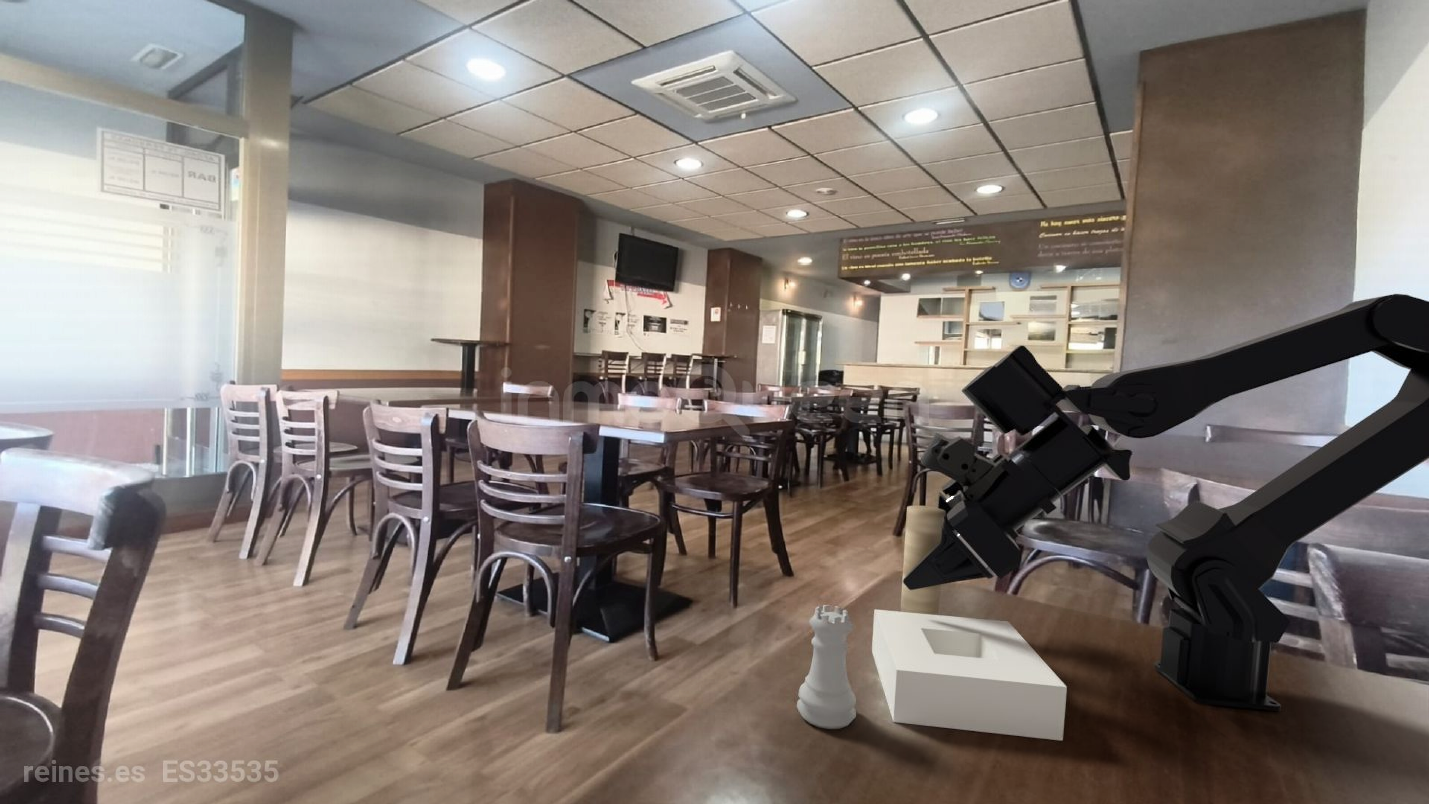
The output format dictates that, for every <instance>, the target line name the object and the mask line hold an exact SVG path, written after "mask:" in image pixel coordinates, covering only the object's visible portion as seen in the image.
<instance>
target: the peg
mask: <svg viewBox="0 0 1429 804" xmlns="http://www.w3.org/2000/svg"><path fill="white" fill-rule="evenodd" d="M943 516H944V517H945V511H944V510H942V509H939V508H938V507H935V506H928V505H908V506H907V507H906V519H905V520H906V521H905V531H904V532H905V535H904V550H903V566H902V567H903V569H902V580H901V581H902V582H901V583H902V584H901V595H900V610H899V612H909V613H920V614H931V615H940V603H941V601H940V598H941V586H942V584H941V585H936V586H931V587H925V588H920V589H915V590H909V589H908V588H907V586H906V585H905V584H904V583H903V579H904V578H905V577H906V576H907V575H908V573H909V572H910V571H911V570H912V569H913V568H914V567H915V566H916V565H917V564H918V562H919V561H920V560H921V559H922V558H923V557H924V556H925V555H926V554H927V553H928V552H929V551H930V550H931V549H932V548H933V546H934V545H935V544H936V543H937V542H938V541H939V540H940V537H941V525H942V517H943Z"/></svg>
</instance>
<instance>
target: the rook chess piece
mask: <svg viewBox="0 0 1429 804" xmlns="http://www.w3.org/2000/svg"><path fill="white" fill-rule="evenodd" d="M830 609H831V608H830V604H827V605H826V604H823V605H822V607H821V606H819V605H818V606H816V607H815V609H814V614H813V616H812V617H811V618H810V619H809V625H810V627H811V628H812V629H813V631H814V636H813V638H811V644H812V646H813V653H812V660H811V665H810V669H809V671H808V675H806V676H805V678H804V682H803V683H802V684H801V685H800V687H799V690H798V694H797V696H798V697H799V699H798V700H797V702H796V703H797V704H796V708H797V710H798V712H799V713H800V715H801V717H802V718H803V720H805V722H808V723H809V724H810V725H813V726H815V727H817V728H821V729H825V730H840V729H843V728H845V727H848V726H849V725H850V723H852V721H853V720H854V719H855V718H856V717H857V712H856V709H855V706H856V705H857V703H856V701H857V700H856V696H855V694H856V693H854V691H853V690H852V688H851V683H850V682H849V680H848V679H849V678H848V675H847V664H846V663H847V662H846V655H847V654H846V651H847V650H848V649H849V648H850V646H849V645H850V644H849V643H848V642H847V636H848V635H849V634H850V632H852V631H853V629H854V625H853V623H852V621H851V620H850V615H849V614H850V613H849V610H847V609H843V610H842V607H840V606H838V605H837V606H836V605H835V606H834V610H833V611H832V610H830Z"/></svg>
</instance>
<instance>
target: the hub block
mask: <svg viewBox="0 0 1429 804" xmlns="http://www.w3.org/2000/svg"><path fill="white" fill-rule="evenodd" d="M872 627H873V628H872V640H871V641H872V642H871V643H872V644H871V652H872V657H873V660H874V663H875V666H876V670H877V672H878V673H877V674H878V676H879V679H880V682H881V683H880V684H881V685H882V689H883V692H884V694H885V699H886V702H887V705H888V708H889V712H890V715H891V718H892V722H893V723H901V724H908V725H909V724H910V725H917V726H927V727H936V728H946V729H955V730H961V731H962V730H963V731H974V732H981V733H991V734H998V735H1009V736H1016V737H1017V736H1019V737H1026V738H1036V739H1044V740H1046V739H1047V740H1054V741H1064V740H1063V739H1064V728H1065V717H1066V716H1065V715H1066V703H1067V689H1068V688H1067V685H1066V684H1065V683H1064V682H1063V681H1062V680H1061V679H1060V678H1059V676H1058V675H1057V674H1056V673H1055V672H1054V670H1052V669H1051V667H1049V665H1048V664H1047V663H1046V662H1045V661H1044V660H1043V659H1042V658H1041V656H1040V655H1039V654H1038V653H1037V652H1036V651H1035V649H1033V647H1032V646H1031V645H1030V644H1029V643H1028V642H1027V640H1026V639H1024V638H1023V637H1022V635H1021V634H1020V633H1019V632H1018V631H1017V629H1015V627H1014V626H1013V625H1012V624H1011V623H1010V621H1006V620H994V619H985V618H984V619H982V618H974V617H973V618H972V617H962V616H961V617H959V616H952V615H951V616H950V615H940V614H939V615H931V614H920V613H909V612H900V611H897V610H885V609H874V612H873V626H872Z"/></svg>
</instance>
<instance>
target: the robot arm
mask: <svg viewBox="0 0 1429 804" xmlns="http://www.w3.org/2000/svg"><path fill="white" fill-rule="evenodd" d="M1371 352H1372V353H1374V354H1376V355H1377V356H1380V357H1381V358H1384V359H1385V360H1387V361H1389V362H1391V363H1393V364H1394V365H1396V366H1399V367H1401V368H1404V369H1407V370H1409V371H1408V373H1407V375H1406V377H1405V378H1404V381H1403V383H1402V385H1401V386H1400V389H1399V390H1398V392H1397V394H1396V396H1395V397H1393V398H1392V399H1391V400H1390V401H1389V402H1388V403H1385V404H1384V405H1383V406H1382V407H1379V408H1378V409H1376V410H1375V411H1373V412H1372V413H1371V414H1369V415H1368V416H1366V417H1364V418H1363V419H1361V420H1360V421H1359V422H1357V423H1355V424H1354V425H1353V426H1351V427H1350V428H1348V429H1347V430H1345V431H1344V432H1342V433H1341V434H1339V435H1338V436H1336V437H1335V438H1334V439H1331V440H1330V441H1329V442H1327V443H1325V444H1324V445H1323V446H1321V447H1320V448H1318V449H1317V450H1315V451H1314V452H1313V453H1310V454H1309V455H1308V456H1306V457H1305V458H1303V459H1302V460H1300V461H1298V462H1297V463H1295V464H1294V465H1293V466H1291V467H1290V468H1288V469H1287V470H1285V471H1284V472H1282V473H1281V474H1279V475H1278V476H1276V477H1275V478H1273V479H1272V480H1270V481H1269V482H1268V483H1266V484H1264V485H1263V486H1262V487H1259V488H1258V489H1257V490H1255V491H1253V492H1252V493H1251V494H1249V495H1247V496H1246V497H1245V498H1244V499H1243V498H1242V499H1241V500H1239V501H1238V502H1237V503H1234V504H1231V505H1229V506H1228V505H1227V506H1225V507H1221V508H1216V507H1213V506H1211V505H1209V504H1207V503H1204V502H1202V501H1199V500H1197V499H1196V500H1193V501H1192V502H1191V503H1189V504H1188V505H1186V506H1185V507H1184V508H1182V510H1181V511H1180V512H1179V513H1178V514H1176V515H1175V516H1174V517H1172V518H1171V519H1168V520H1166V521H1164V522H1161V523H1160V522H1159V523H1157V524H1155V528H1157V529H1158V530H1160V531H1158V532H1157V533H1156V534H1154V535H1153V537H1151V539H1150V540H1149V541H1148V543H1147V545H1146V547H1147V548H1146V549H1147V551H1146V561H1147V565H1148V568H1149V570H1150V571H1151V573H1152V575H1154V577H1155V578H1157V579H1158V580H1159V581H1160V582H1162V583H1163V584H1164V585H1165V587H1166V590H1167V593H1168V598H1170V600H1171V601H1173V602H1175V603H1177V604H1178V605H1179V606H1180V608H1178V609H1174V608H1173V609H1171V608H1170V609H1169V618H1168V626H1167V625H1166V626H1164V628H1163V629H1162V640H1161V653H1160V662H1157V661H1156V662H1153V663H1154V664H1153V665H1154V666H1153V668H1154V669H1155V670H1156V671H1157V672H1158V673H1160V675H1162V676H1163V677H1164V678H1166V680H1168V681H1169V682H1171V683H1172V684H1173V685H1174V686H1176V687H1177V688H1179V689H1180V690H1181V691H1182V692H1184V694H1186V695H1187V696H1188V697H1189V698H1191V699H1192V700H1193V701H1195V702H1197V703H1201V704H1207V705H1216V706H1224V707H1225V706H1226V707H1235V708H1242V709H1243V708H1245V709H1252V710H1254V709H1256V710H1264V711H1265V710H1266V711H1274V712H1280V711H1281V710H1282V705H1281V703H1279V702H1278V701H1277V700H1275V699H1274V698H1272V697H1271V696H1269V695H1267V693H1268V691H1267V689H1268V682H1269V681H1268V680H1269V670H1270V659H1271V658H1270V657H1271V649H1272V647H1271V646H1272V644H1277V643H1279V642H1280V641H1281V639H1282V637H1283V635H1285V632H1286V631H1287V629H1288V627H1289V625H1290V624H1291V623H1290V622H1291V621H1290V619H1289V618H1288V617H1287V616H1286V615H1285V614H1284V613H1283V612H1282V611H1281V610H1280V608H1278V607H1277V606H1276V605H1275V604H1274V603H1273V602H1272V601H1271V600H1270V598H1268V597H1267V596H1266V595H1265V594H1264V593H1263V592H1262V591H1261V589H1263V587H1264V586H1266V585H1267V584H1268V582H1270V580H1272V579H1273V578H1274V576H1275V574H1276V572H1277V571H1278V569H1279V568H1280V565H1281V563H1282V561H1283V560H1284V557H1285V556H1286V554H1287V552H1288V551H1289V549H1290V548H1291V547H1292V546H1293V545H1294V544H1296V543H1297V542H1299V541H1300V540H1301V539H1303V538H1305V537H1307V536H1308V535H1309V534H1312V533H1313V532H1315V531H1316V530H1318V529H1320V528H1321V527H1322V526H1325V524H1327V523H1329V522H1331V521H1332V520H1334V519H1335V518H1336V517H1339V516H1340V515H1342V514H1343V513H1345V512H1346V511H1348V510H1350V508H1353V507H1354V506H1357V504H1359V503H1360V502H1362V501H1364V500H1366V499H1367V498H1369V497H1370V496H1371V495H1374V494H1375V493H1377V491H1380V490H1381V489H1383V488H1384V487H1385V486H1387V485H1389V484H1391V483H1393V482H1394V481H1395V480H1397V479H1398V478H1400V477H1402V476H1404V475H1405V474H1406V473H1408V472H1409V471H1412V470H1413V469H1414V468H1417V467H1418V466H1419V465H1420V464H1422V463H1424V462H1425V461H1427V460H1428V459H1429V301H1428V300H1426V299H1422V298H1418V297H1416V296H1412V295H1409V294H1403V293H1402V294H1401V293H1393V294H1387V295H1383V296H1382V295H1381V296H1375V297H1372V298H1365V299H1361V300H1355V301H1352V302H1351V303H1348V304H1347V305H1345V306H1344V307H1342V308H1340V309H1338V310H1336V311H1332V312H1330V313H1327V314H1323V315H1320V316H1317V317H1315V318H1311V319H1308V320H1306V321H1303V322H1300V323H1296V324H1294V325H1291V326H1288V327H1285V328H1281V329H1278V330H1276V331H1274V332H1269V333H1267V334H1264V335H1261V336H1258V337H1254V338H1252V339H1250V340H1246V341H1243V342H1241V343H1238V344H1237V343H1236V344H1235V345H1231V346H1228V347H1225V348H1223V349H1220V350H1217V351H1214V352H1210V353H1207V354H1206V355H1202V356H1199V357H1195V358H1192V359H1186V360H1180V361H1175V362H1167V363H1164V364H1158V365H1150V366H1144V367H1139V368H1134V369H1128V370H1123V371H1118V372H1112V373H1107V374H1105V375H1104V376H1102V377H1100V378H1097V380H1095V381H1094V382H1093V383H1092V384H1091V385H1088V386H1087V385H1086V386H1080V385H1079V384H1067V385H1065V386H1064V387H1063V386H1062V385H1061V384H1060V383H1058V382H1057V380H1055V378H1054V377H1053V376H1052V375H1050V373H1048V371H1047V370H1046V369H1045V368H1043V366H1042V365H1040V363H1039V362H1038V361H1037V359H1036V358H1035V356H1034V354H1033V353H1032V352H1031V351H1030V350H1029V349H1028V348H1027V346H1025V345H1019V346H1017V347H1015V348H1014V349H1013V350H1012V351H1011V352H1010V353H1008V354H1006V356H1004V357H1002V358H1000V359H999V361H997V362H996V363H994V364H993V365H990V366H988V367H986V368H985V369H984V370H983V371H981V372H980V373H979V374H977V376H976V377H974V378H973V379H972V380H971V381H970V382H969V383H968V384H966V385H965V386H964V387H963V388H962V390H961V392H962V393H963V394H964V395H965V397H967V399H968V400H969V401H970V402H971V403H972V404H973V405H974V406H975V407H976V408H977V409H978V411H980V412H981V413H982V414H983V415H984V417H986V419H988V421H989V422H991V424H992V425H993V426H994V427H995V429H997V430H998V431H999V432H1000V433H1001V435H1007V434H1008V433H1010V432H1012V431H1013V430H1014V431H1015V433H1016V434H1017V435H1018V436H1019V437H1022V436H1025V435H1027V434H1029V433H1031V432H1032V431H1033V430H1035V429H1036V428H1037V427H1039V426H1041V424H1043V423H1044V422H1045V421H1046V420H1048V419H1049V418H1050V417H1051V416H1053V417H1054V419H1051V421H1049V422H1048V423H1047V424H1046V425H1045V426H1043V427H1042V428H1041V429H1039V430H1038V431H1037V432H1035V433H1034V434H1032V436H1030V437H1028V439H1026V440H1025V441H1024V442H1022V443H1021V444H1020V445H1018V446H1017V447H1016V448H1015V449H1014V450H1012V451H1010V453H1008V454H1006V453H997V454H995V456H993V457H992V458H991V459H987V458H986V457H984V456H982V455H981V454H978V453H977V452H975V450H976V449H975V448H976V445H975V444H974V443H973V442H970V441H968V440H967V439H964V438H963V437H961V436H957V437H955V438H953V439H950V438H948V437H946V436H944V435H943V434H940V433H938V432H935V433H934V436H933V437H932V439H931V440H930V442H929V444H928V446H927V447H926V449H925V451H924V453H923V454H922V456H921V458H920V464H921V465H922V466H924V467H926V468H927V469H929V470H930V471H932V472H938V473H940V474H942V475H945V476H946V477H948V478H950V480H948V481H947V482H946V483H945V484H943V485H942V486H941V490H942V492H943V493H944V495H946V496H944V495H943V493H942V492H940V491H938V495H937V508H939V509H942V510H944V511H945V517H944V516H943V517H942V525H941V537H940V540H939V541H938V542H937V543H936V544H935V545H934V546H933V548H932V549H931V550H930V551H929V552H928V553H927V554H926V555H925V556H924V557H923V558H922V559H921V560H920V561H919V562H918V564H917V565H916V566H915V567H914V568H913V569H912V570H911V571H910V572H909V573H908V575H907V576H906V577H905V578H904V579H903V578H902V579H903V583H904V584H905V585H906V586H907V588H908V589H909V590H915V589H920V588H925V587H931V586H936V585H941V586H942V585H946V584H951V583H956V582H957V583H958V582H963V581H971V580H977V579H979V580H980V579H985V578H987V579H988V580H990V579H993V578H994V577H995V576H996V577H998V578H999V579H1000V580H1002V579H1004V577H1006V576H1007V575H1009V574H1011V573H1012V572H1013V571H1014V570H1016V569H1017V568H1018V567H1020V558H1021V557H1020V555H1021V549H1020V547H1019V545H1018V544H1017V542H1016V541H1015V539H1016V538H1018V537H1019V536H1020V535H1019V534H1018V532H1017V530H1019V528H1021V527H1022V526H1024V525H1025V524H1027V523H1028V522H1029V521H1030V520H1032V519H1034V518H1035V517H1036V516H1038V514H1040V513H1041V512H1043V511H1044V513H1046V515H1049V514H1051V513H1052V512H1054V511H1055V510H1056V509H1057V506H1056V505H1055V502H1057V501H1058V500H1059V499H1061V498H1062V496H1064V495H1066V494H1068V493H1069V492H1070V491H1071V490H1073V489H1074V488H1075V487H1077V486H1078V485H1080V484H1081V483H1082V482H1084V481H1086V480H1087V479H1088V478H1089V477H1091V476H1092V475H1094V474H1095V473H1096V472H1097V471H1098V470H1101V468H1104V469H1105V470H1106V471H1107V472H1108V473H1109V474H1110V475H1112V476H1113V477H1115V478H1117V479H1119V480H1122V481H1123V482H1125V481H1126V482H1127V481H1128V480H1130V478H1131V468H1130V466H1131V465H1130V462H1131V457H1132V455H1133V451H1132V450H1131V449H1128V448H1125V447H1114V446H1113V445H1112V444H1111V443H1110V441H1108V440H1107V439H1106V438H1105V437H1104V436H1103V435H1102V434H1101V433H1100V432H1099V430H1097V429H1096V428H1095V427H1094V426H1093V425H1092V424H1086V425H1082V426H1080V427H1079V426H1078V425H1077V424H1076V423H1075V422H1074V421H1073V419H1071V418H1070V417H1069V416H1068V415H1067V414H1066V413H1065V412H1064V411H1063V410H1065V411H1069V412H1075V413H1078V414H1082V415H1087V416H1088V417H1089V418H1090V420H1091V422H1092V423H1094V425H1096V426H1097V427H1098V428H1100V429H1102V430H1104V431H1106V432H1109V433H1112V434H1115V435H1119V436H1122V437H1123V436H1125V437H1128V438H1132V439H1146V438H1152V437H1153V438H1154V437H1156V436H1159V435H1160V434H1162V433H1163V434H1164V433H1165V432H1166V431H1168V430H1170V429H1173V428H1175V427H1177V426H1179V425H1181V424H1183V423H1185V422H1187V421H1189V420H1191V419H1194V418H1195V417H1196V416H1198V415H1199V414H1201V413H1203V412H1204V411H1206V410H1207V409H1208V408H1210V407H1211V406H1213V405H1216V404H1217V403H1219V402H1221V401H1223V400H1225V399H1227V398H1229V397H1232V396H1234V395H1235V396H1236V395H1238V394H1241V393H1244V392H1247V391H1251V390H1254V389H1258V388H1260V387H1264V386H1266V385H1269V384H1272V383H1277V382H1279V381H1282V380H1285V379H1289V378H1292V377H1296V376H1298V375H1301V374H1305V373H1308V372H1310V371H1314V370H1317V369H1321V368H1324V367H1327V366H1331V365H1332V364H1336V363H1339V362H1343V361H1346V360H1348V359H1352V358H1355V357H1358V356H1359V357H1360V356H1362V355H1364V354H1369V353H1371Z"/></svg>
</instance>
